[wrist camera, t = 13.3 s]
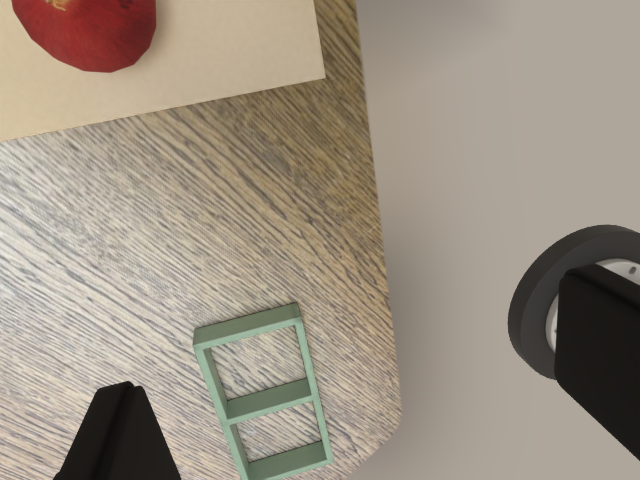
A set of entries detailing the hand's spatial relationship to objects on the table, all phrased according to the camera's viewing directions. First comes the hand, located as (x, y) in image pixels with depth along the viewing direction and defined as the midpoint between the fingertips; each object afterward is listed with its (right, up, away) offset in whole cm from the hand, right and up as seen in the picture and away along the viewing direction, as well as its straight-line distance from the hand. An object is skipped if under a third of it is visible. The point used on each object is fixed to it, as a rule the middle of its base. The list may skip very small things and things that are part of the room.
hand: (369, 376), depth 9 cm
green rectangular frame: (-6, -12, +32) cm, 35 cm away
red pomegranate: (-12, +15, +13) cm, 24 cm away
